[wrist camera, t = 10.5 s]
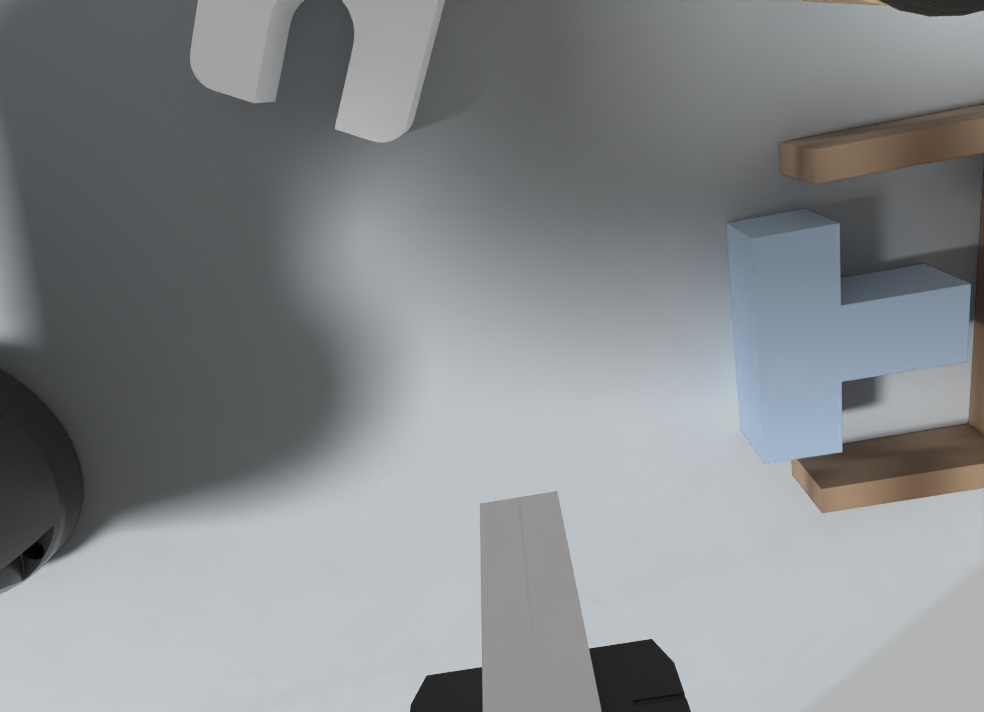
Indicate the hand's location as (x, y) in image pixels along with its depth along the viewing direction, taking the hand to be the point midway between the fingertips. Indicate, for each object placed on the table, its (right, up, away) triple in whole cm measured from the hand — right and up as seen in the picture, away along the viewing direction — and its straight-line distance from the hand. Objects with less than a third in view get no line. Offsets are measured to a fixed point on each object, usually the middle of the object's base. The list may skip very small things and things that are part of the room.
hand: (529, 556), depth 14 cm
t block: (+17, +6, +24) cm, 31 cm away
